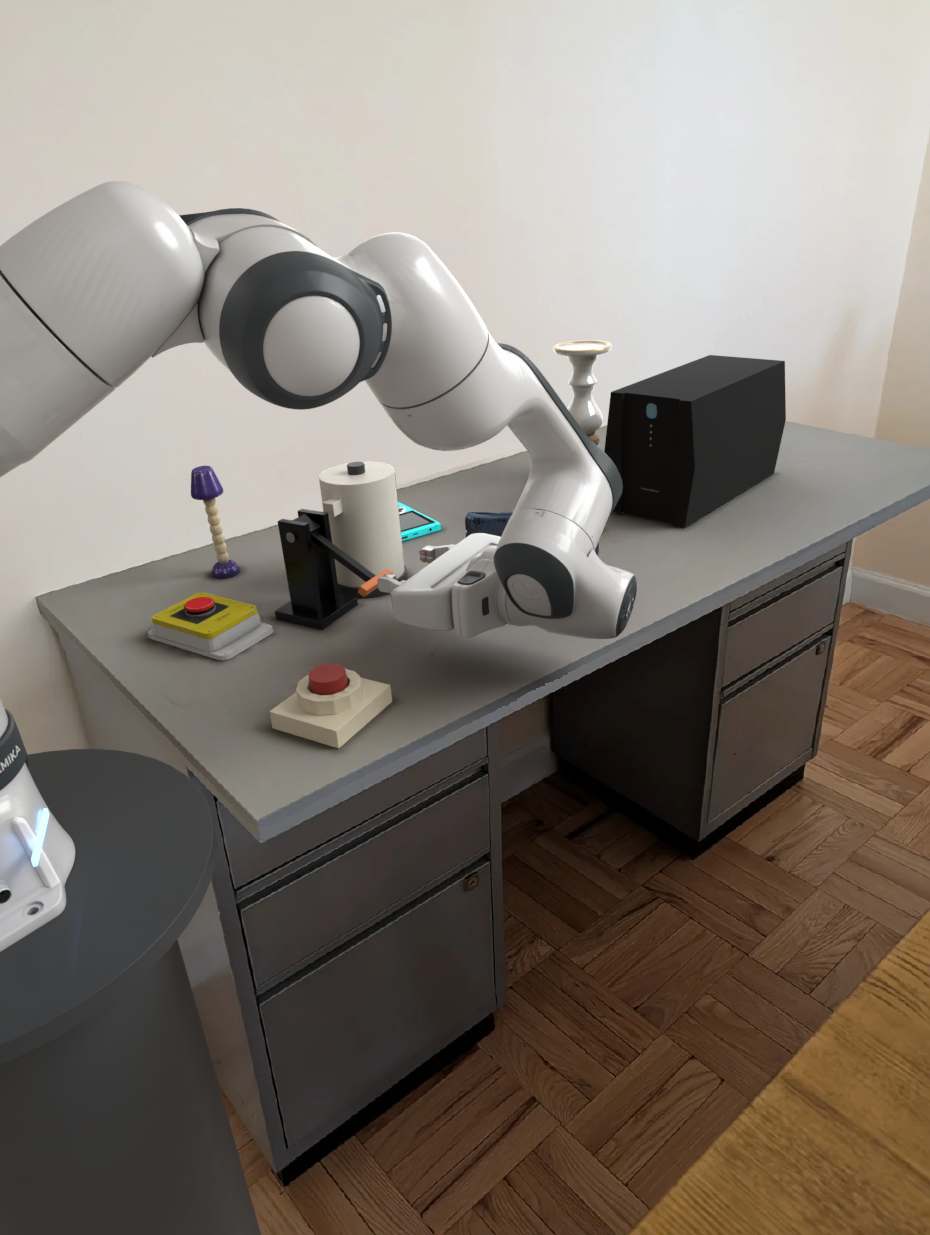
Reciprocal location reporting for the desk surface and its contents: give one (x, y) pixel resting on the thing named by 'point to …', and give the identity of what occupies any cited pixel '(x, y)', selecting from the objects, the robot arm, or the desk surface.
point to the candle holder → (584, 382)
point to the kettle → (363, 520)
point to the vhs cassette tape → (490, 524)
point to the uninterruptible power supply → (696, 436)
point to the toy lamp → (213, 517)
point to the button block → (331, 710)
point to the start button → (328, 679)
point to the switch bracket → (310, 575)
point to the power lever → (343, 558)
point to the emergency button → (210, 626)
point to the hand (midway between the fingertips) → (402, 567)
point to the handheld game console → (415, 523)
